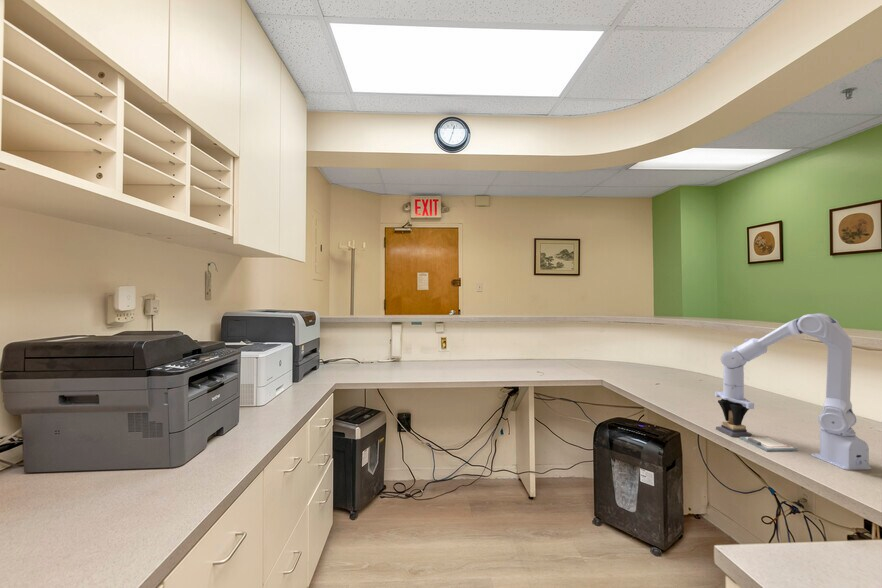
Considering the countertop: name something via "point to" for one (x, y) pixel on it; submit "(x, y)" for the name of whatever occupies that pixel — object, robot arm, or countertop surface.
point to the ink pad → (733, 433)
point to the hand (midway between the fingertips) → (733, 422)
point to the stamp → (733, 425)
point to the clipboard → (768, 443)
